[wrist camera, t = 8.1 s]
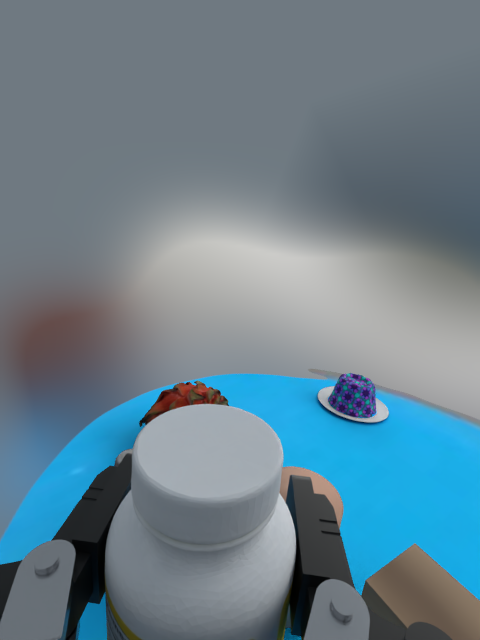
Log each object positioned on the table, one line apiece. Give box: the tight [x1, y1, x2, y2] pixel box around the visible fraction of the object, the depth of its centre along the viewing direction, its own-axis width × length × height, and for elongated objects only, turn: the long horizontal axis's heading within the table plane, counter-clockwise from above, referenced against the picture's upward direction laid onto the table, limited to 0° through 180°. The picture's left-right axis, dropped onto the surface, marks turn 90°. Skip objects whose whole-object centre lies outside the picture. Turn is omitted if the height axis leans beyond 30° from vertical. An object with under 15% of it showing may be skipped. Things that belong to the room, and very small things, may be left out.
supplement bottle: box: [105, 404, 296, 640], centre depth 10 cm, size 5×5×10 cm
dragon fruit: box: [139, 381, 229, 427], centre depth 42 cm, size 8×8×12 cm
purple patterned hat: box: [318, 373, 389, 422], centre depth 55 cm, size 12×12×5 cm
